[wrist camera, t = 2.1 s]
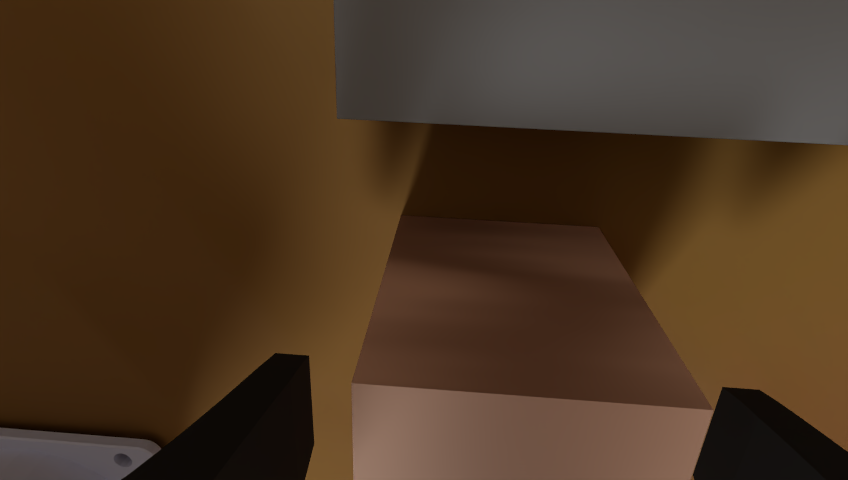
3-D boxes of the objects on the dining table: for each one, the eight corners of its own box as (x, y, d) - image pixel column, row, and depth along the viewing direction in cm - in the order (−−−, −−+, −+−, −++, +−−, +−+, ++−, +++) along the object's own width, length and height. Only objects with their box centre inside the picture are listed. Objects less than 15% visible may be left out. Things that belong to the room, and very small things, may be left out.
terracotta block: (397, 372, 14) (355, 607, 8) (401, 214, 12) (350, 383, 7) (568, 385, 14) (638, 633, 8) (597, 226, 12) (713, 410, 6)
